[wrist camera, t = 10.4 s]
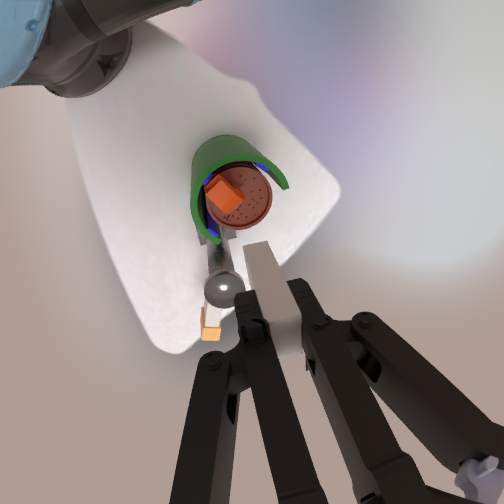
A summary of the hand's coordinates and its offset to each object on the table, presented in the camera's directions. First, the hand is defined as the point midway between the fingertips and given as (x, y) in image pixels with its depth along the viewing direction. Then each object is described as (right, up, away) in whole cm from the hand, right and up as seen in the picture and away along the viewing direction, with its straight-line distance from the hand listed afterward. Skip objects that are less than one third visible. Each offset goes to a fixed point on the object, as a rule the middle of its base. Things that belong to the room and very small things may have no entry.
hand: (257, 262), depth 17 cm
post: (-6, +5, +28) cm, 29 cm away
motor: (-5, +14, +24) cm, 28 cm away
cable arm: (-6, -6, +24) cm, 25 cm away
